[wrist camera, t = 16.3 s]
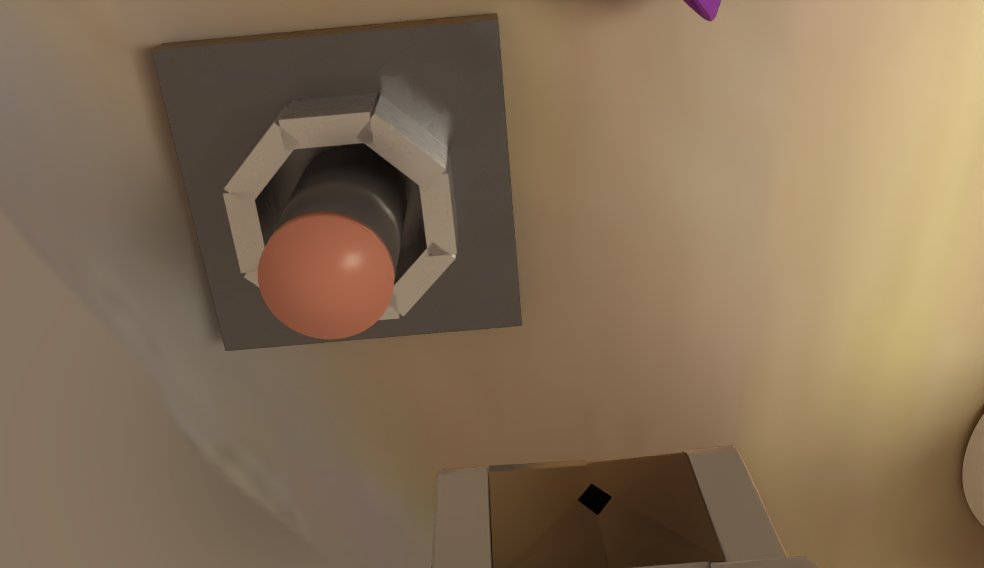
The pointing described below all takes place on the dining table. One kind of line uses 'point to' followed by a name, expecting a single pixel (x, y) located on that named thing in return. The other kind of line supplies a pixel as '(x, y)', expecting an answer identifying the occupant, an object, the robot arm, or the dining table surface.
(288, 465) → the dining table surface
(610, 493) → the robot arm
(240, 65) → the octagon ring plate
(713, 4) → the toy camera
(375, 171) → the dome-topped dark cylinder
